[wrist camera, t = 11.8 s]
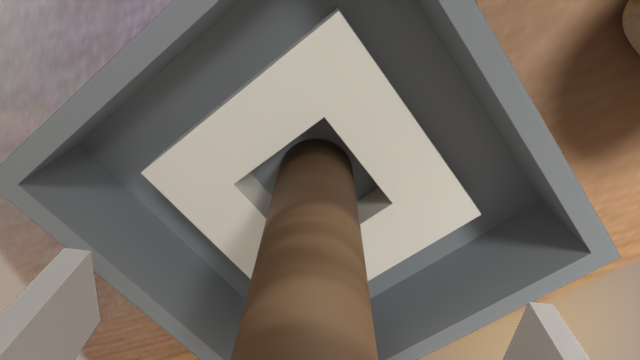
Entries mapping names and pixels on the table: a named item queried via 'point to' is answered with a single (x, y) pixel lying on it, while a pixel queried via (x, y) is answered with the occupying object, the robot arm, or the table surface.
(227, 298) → the grey box
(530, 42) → the table surface
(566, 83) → the table surface
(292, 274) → the walnut peg
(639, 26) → the ceramic mug
